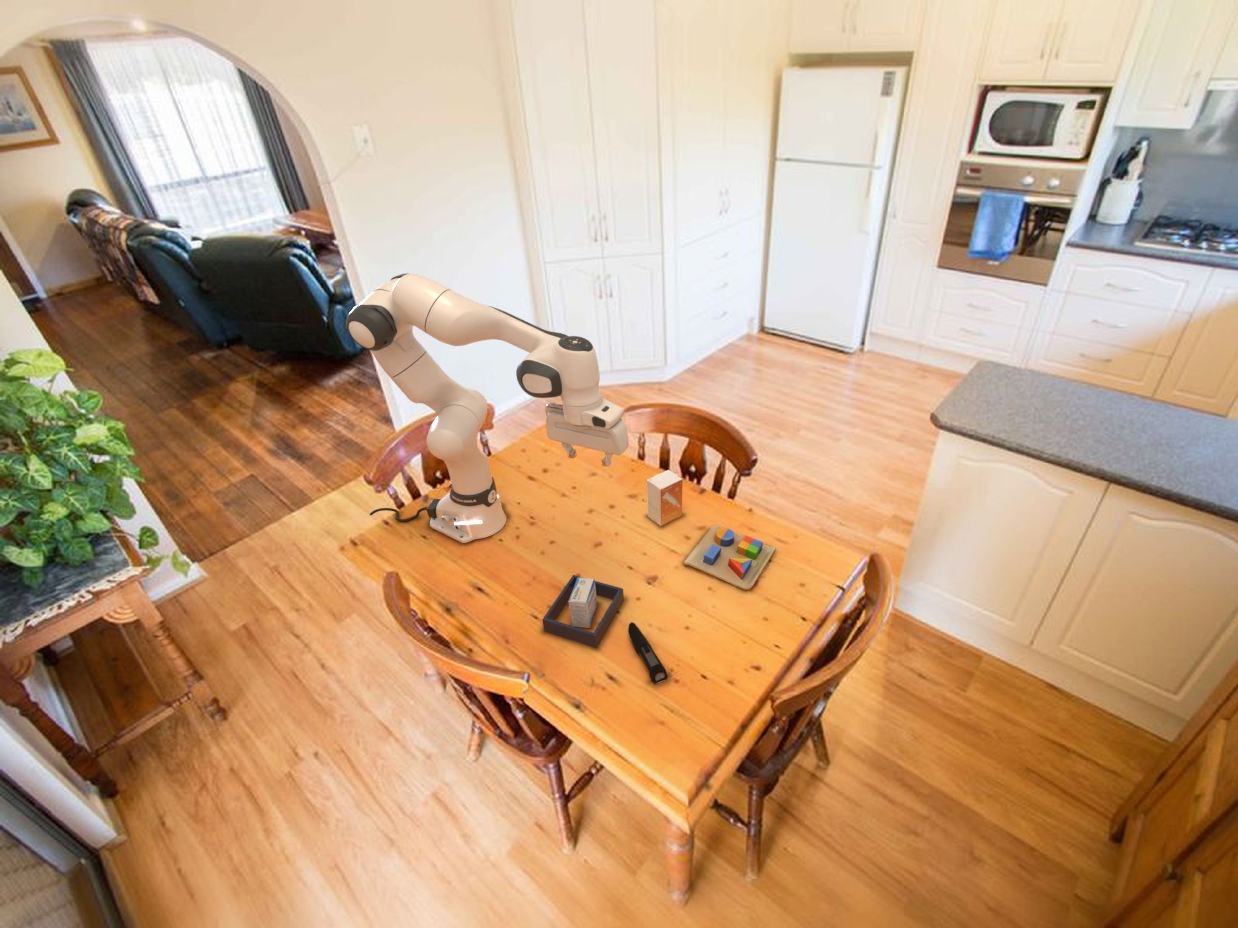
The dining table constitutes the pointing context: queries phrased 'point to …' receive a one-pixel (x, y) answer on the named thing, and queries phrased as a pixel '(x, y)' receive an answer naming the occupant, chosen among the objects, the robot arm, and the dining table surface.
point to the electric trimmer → (647, 654)
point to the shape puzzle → (730, 556)
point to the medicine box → (583, 602)
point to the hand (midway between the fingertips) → (589, 461)
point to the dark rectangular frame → (578, 633)
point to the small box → (664, 497)
